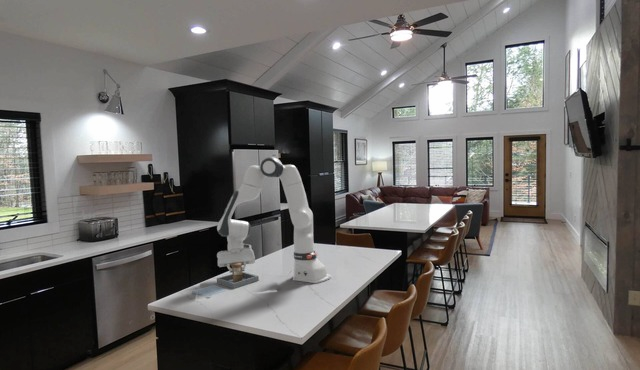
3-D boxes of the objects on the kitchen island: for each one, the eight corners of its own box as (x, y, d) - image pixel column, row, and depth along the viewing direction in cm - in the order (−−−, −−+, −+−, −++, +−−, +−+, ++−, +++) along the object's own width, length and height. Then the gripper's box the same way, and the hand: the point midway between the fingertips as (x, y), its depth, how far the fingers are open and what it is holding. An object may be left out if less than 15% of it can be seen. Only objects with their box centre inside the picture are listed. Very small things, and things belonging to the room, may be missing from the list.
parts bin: (258, 282, 209) (258, 276, 209) (234, 290, 198) (233, 283, 198) (241, 277, 220) (241, 271, 220) (216, 284, 209) (216, 278, 208)
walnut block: (242, 279, 212) (241, 262, 211) (242, 282, 207) (241, 264, 206) (233, 280, 211) (231, 263, 210) (233, 283, 206) (231, 265, 205)
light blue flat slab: (228, 291, 196) (227, 289, 196) (206, 298, 188) (206, 296, 187) (213, 286, 206) (212, 284, 206) (192, 292, 197) (192, 291, 197)
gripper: (216, 248, 212) (216, 270, 203) (253, 244, 217) (255, 266, 208) (217, 254, 217) (217, 276, 208) (253, 251, 222) (255, 272, 213)
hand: (237, 271), depth 208 cm, fingers closed on walnut block, 5 cm apart
